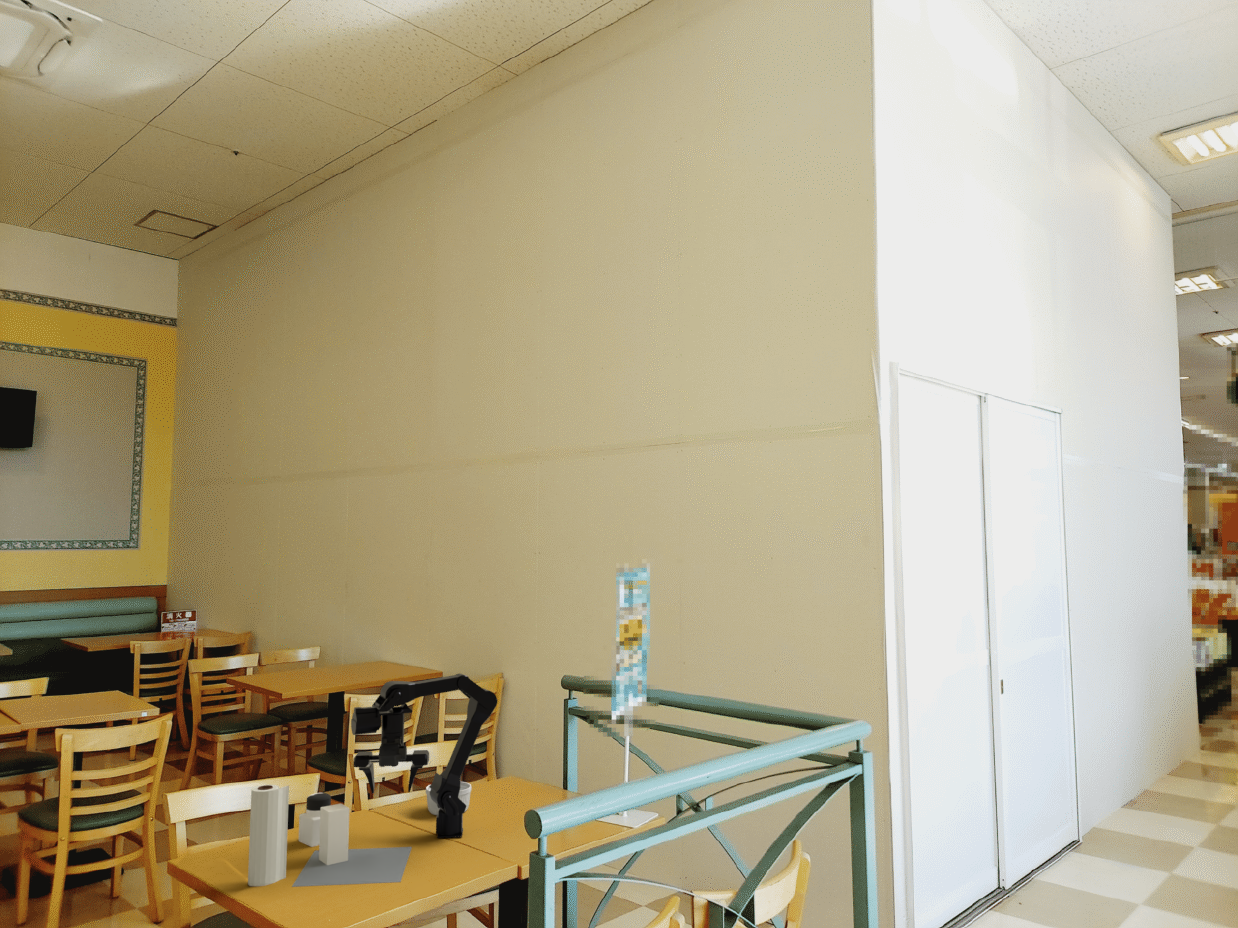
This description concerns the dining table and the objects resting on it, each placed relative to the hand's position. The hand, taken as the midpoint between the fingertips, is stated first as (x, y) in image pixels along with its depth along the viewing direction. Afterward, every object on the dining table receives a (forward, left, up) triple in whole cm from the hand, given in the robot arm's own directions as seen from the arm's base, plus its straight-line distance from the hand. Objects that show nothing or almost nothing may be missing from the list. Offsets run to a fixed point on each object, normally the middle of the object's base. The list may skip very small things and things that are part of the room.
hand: (391, 792), depth 231 cm
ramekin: (-13, -28, -13) cm, 34 cm away
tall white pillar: (+12, +11, -13) cm, 21 cm away
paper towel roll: (+25, +24, -13) cm, 37 cm away
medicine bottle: (+19, -4, -13) cm, 23 cm away
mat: (+6, +16, -13) cm, 21 cm away
